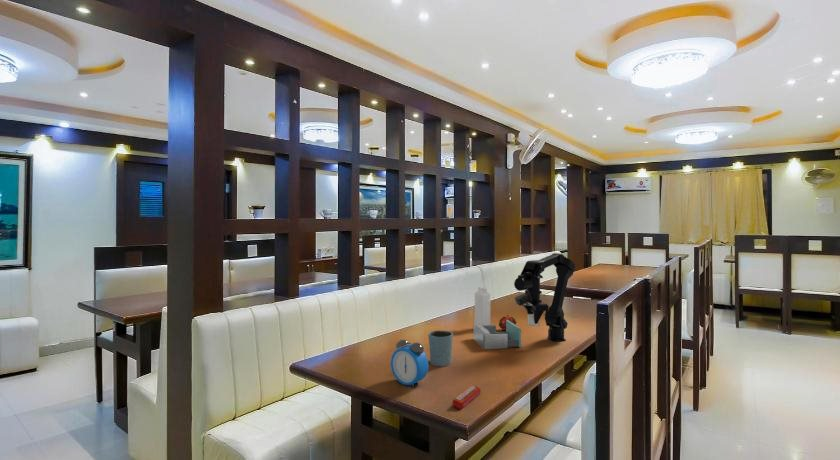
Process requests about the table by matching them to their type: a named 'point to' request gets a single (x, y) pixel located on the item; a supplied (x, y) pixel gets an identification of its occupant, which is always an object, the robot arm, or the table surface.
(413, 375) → the alarm clock
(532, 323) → the grey rounded tapered piece
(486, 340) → the dock
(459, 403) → the candy bar
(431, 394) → the table surface
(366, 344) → the table surface
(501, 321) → the dragon fruit
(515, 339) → the drawer
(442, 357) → the grey-green cup
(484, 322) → the milk
